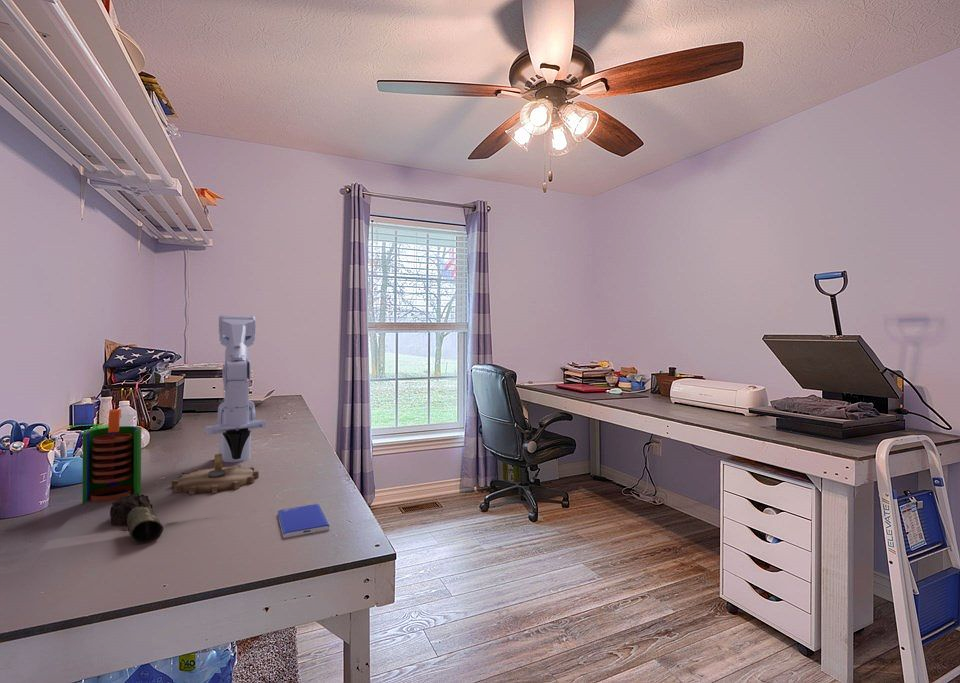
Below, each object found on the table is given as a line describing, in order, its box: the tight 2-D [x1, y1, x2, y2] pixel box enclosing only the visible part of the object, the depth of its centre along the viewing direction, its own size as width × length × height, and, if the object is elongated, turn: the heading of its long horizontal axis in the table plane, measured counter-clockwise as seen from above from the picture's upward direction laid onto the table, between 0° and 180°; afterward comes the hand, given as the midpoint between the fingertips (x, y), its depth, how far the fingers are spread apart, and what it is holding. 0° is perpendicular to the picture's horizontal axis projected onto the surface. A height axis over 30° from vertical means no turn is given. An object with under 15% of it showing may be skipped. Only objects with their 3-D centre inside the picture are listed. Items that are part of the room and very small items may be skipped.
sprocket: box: [171, 453, 260, 496], centre depth 112 cm, size 18×18×6 cm
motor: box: [81, 408, 142, 506], centre depth 102 cm, size 10×9×20 cm
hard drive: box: [277, 503, 330, 539], centre depth 91 cm, size 2×8×12 cm
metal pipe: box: [109, 493, 164, 545], centre depth 87 cm, size 18×7×6 cm, turn 43°
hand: (236, 458), depth 120 cm, fingers closed
